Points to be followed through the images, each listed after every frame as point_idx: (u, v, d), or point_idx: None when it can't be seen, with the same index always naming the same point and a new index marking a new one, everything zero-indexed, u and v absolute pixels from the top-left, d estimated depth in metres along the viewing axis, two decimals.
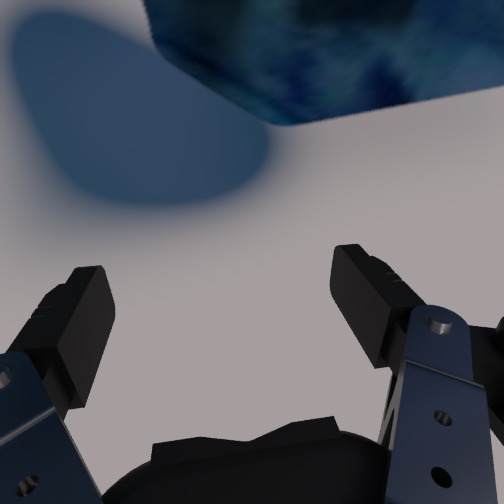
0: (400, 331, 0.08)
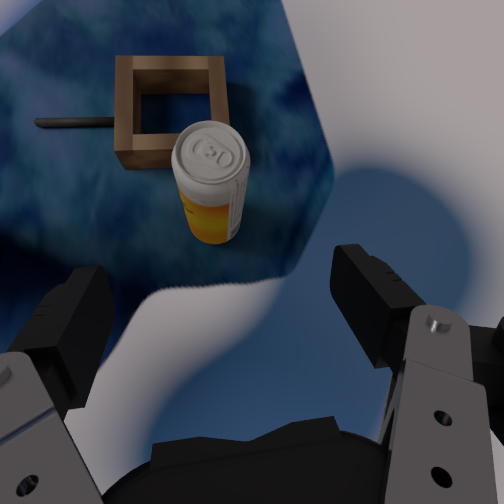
0: (399, 331, 0.08)
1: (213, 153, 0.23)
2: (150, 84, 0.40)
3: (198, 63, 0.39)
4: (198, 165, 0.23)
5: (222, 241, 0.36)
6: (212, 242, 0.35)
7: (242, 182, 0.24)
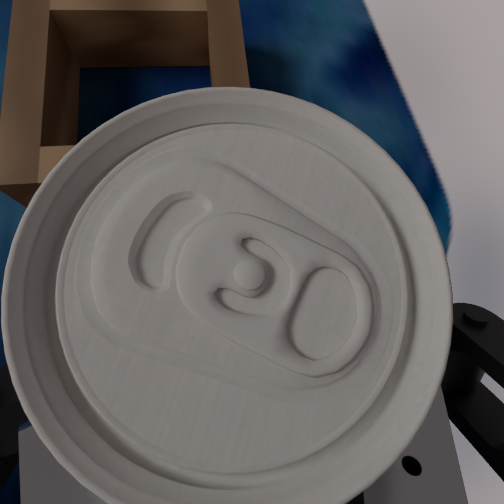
0: None
1: (256, 281, 0.04)
2: (93, 45, 0.20)
3: None
4: (165, 369, 0.04)
5: None
6: None
7: None
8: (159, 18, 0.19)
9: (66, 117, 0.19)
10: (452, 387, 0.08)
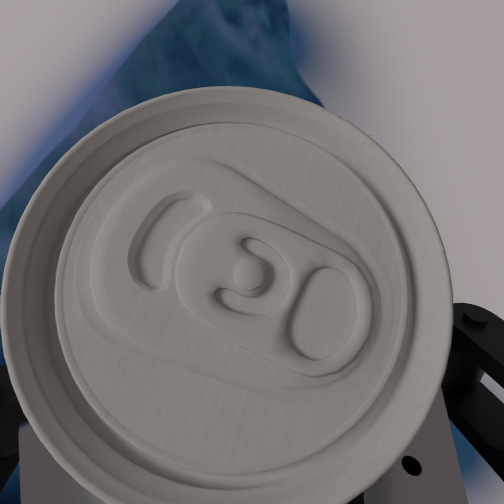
0: None
1: (256, 281, 0.04)
2: None
3: None
4: (164, 370, 0.04)
5: None
6: None
7: None
8: None
9: None
10: (452, 387, 0.08)
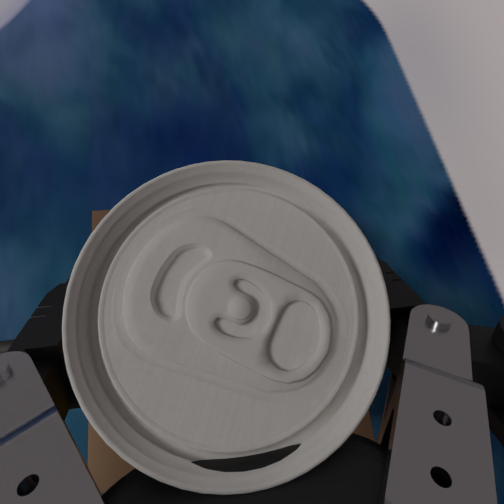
0: (399, 331, 0.08)
1: (245, 313, 0.05)
2: None
3: None
4: (178, 378, 0.05)
5: None
6: None
7: None
8: None
9: None
10: None
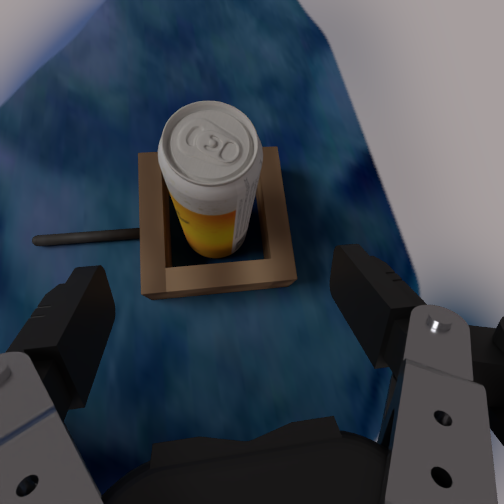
0: (400, 331, 0.08)
1: (213, 143, 0.17)
2: None
3: None
4: (194, 160, 0.17)
5: (226, 255, 0.30)
6: (213, 256, 0.29)
7: (253, 182, 0.18)
8: None
9: (168, 235, 0.29)
10: None
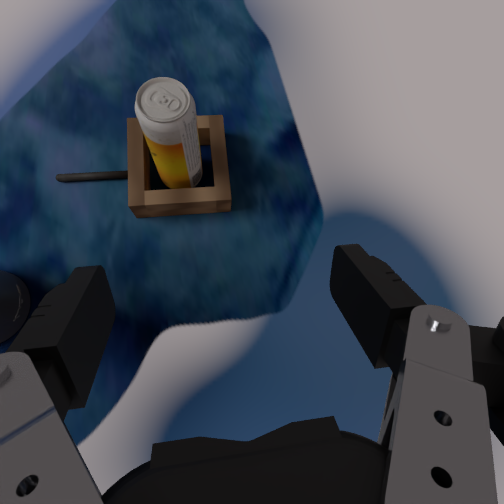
0: (400, 331, 0.08)
1: (165, 100, 0.31)
2: None
3: (200, 122, 0.43)
4: (154, 109, 0.31)
5: None
6: (178, 188, 0.43)
7: (189, 123, 0.32)
8: None
9: (147, 174, 0.43)
10: None
